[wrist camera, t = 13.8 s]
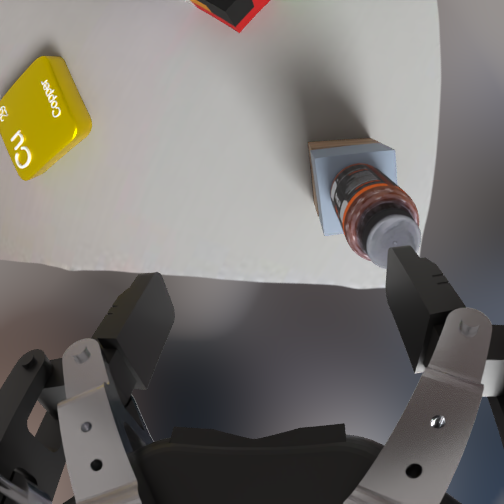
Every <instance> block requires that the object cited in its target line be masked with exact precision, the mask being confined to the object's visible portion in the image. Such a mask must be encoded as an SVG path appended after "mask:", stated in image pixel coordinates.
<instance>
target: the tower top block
mask: <svg viewBox="0 0 504 504" xmlns="http://www.w3.org/2000/svg"><path fill="white" fill-rule="evenodd" d="M310 154H311V161H312V168H313V174H314V181H315V189H316V196H317V204H318V212H319V219H320V222H321V226H322V229H323V233H324V236H329V235H336V234H344V233H343V230H342V227H341V225H340V222H339V219H338V217H337V215H336V213H335V210H334V208H333V205H332V201H331V194H330V193H331V186H332V183H333V181H334V179H335V177H336V175H337V174H338V173H339V172H340V171H341V170H342V169H344V168H345V167H347V166H349V165H353V164H357V163H363V164H368V165H371V166H373V167H375V168H377V169H379V170H380V171H381V172H382V173H384V174H385V175H386V176H387V177H388V178H390V179H391V180H392V181H393V182H394V183H395V184H396V185H397V170H396V156H395V150H394V149H392V148H390V147H388V146H386V145H384V144H382V143H371V144H360V145H350V146H341V147H332V148H324V149H316V150H310Z"/></svg>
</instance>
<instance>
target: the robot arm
mask: <svg viewBox="0 0 504 504" xmlns="http://www.w3.org/2000/svg"><path fill="white" fill-rule="evenodd" d="M386 297H387V302H388V305H389V307H390V310H391V312H392V314H393V317H394V320H395V322H396V325H397V327H398V330H399V332H400V335H401V338H402V340H403V343H404V345H405V348H406V351H407V353H408V356H409V359H410V362H411V365H412V368H413V370H414V373H420V372H423V374H422V376H421V378H420V380H419V383H418V385H417V387H416V389H415V391H414V393H413V395H412V397H411V399H410V401H409V403H408V405H407V407H406V409H405V410H404V412H403V414H402V416H401V418H400V420H399V422H398V423H397V425H396V427H395V429H394V430H393V432H392V434H391V436H390V437H389V439H388V441H387V442H386V444H385V445H382V444H380V443H377V442H375V441H373V440H370V439H367V438H364V437H359V436H354V435H346V434H345V425H344V424H335V425H326V426H316V427H305V428H298V429H294V430H291V431H287V432H284V433H280V434H276V435H272V436H268V437H263V438H259V439H249V438H245V437H241V436H237V435H233V434H228V433H225V432H221V431H217V430H214V429H199V428H185V427H174V428H173V432H172V435H171V438H167V439H162V440H159V441H156V442H154V441H153V440H152V438H151V436H150V434H149V432H148V429H147V427H146V425H145V423H144V420H143V418H142V416H141V413H140V411H139V409H138V406H137V404H136V401H135V399H134V397H133V396H132V391H133V389H147V388H148V385H149V383H150V380H151V377H152V375H153V372H154V370H155V367H156V364H157V362H158V359H159V357H160V355H161V352H162V350H163V347H164V345H165V342H166V340H167V338H168V335H169V333H170V330H171V328H172V325H173V323H174V318H175V314H174V307H173V304H172V302H171V299H170V296H169V294H168V291H167V288H166V285H165V283H164V280H163V278H162V275H161V274H160V273H158V272H155V273H145V274H139V275H138V276H137V277H136V279H135V280H134V282H133V283H132V285H131V286H130V288H128V289H127V290H126V291H124V292H123V293H122V294H121V295H120V296H118V298H117V300H116V301H115V302H114V304H113V307H111V309H110V310H109V311H108V315H106V316H105V317H104V319H103V321H102V322H101V324H100V325H99V327H98V328H97V330H96V331H95V333H94V335H93V336H92V338H87V339H82V340H79V341H77V342H75V343H74V344H72V345H71V346H70V347H69V348H68V349H67V350H66V352H65V353H64V355H63V358H59V359H54V360H49V359H48V358H47V357H46V355H45V354H44V352H43V351H42V350H39V349H36V350H31V351H29V352H27V353H26V354H25V355H23V356H22V357H21V358H20V359H19V360H18V362H17V364H16V365H15V366H14V368H13V370H12V371H11V373H10V374H9V376H8V377H7V379H6V381H5V382H4V384H3V386H2V387H1V389H0V504H52V501H53V497H54V494H55V491H56V488H57V485H58V482H59V479H60V477H61V474H62V471H63V468H64V465H65V462H66V463H67V468H68V472H69V477H70V480H71V485H72V488H73V492H74V496H73V497H72V498H71V499H69V500H68V501H66V502H65V503H63V504H461V503H460V502H458V501H457V500H456V499H454V498H453V497H452V496H450V495H449V494H448V493H446V490H447V488H448V486H449V484H450V482H451V479H452V477H453V475H454V473H455V471H456V468H457V466H458V464H459V461H460V459H461V457H462V454H463V452H464V449H465V446H466V443H467V441H468V438H469V436H470V433H471V430H472V427H473V424H474V421H475V418H476V415H477V412H478V408H479V405H480V402H481V398H482V396H484V397H487V398H488V400H489V403H490V406H491V409H492V412H493V415H494V418H495V421H496V424H497V427H498V430H499V434H500V437H501V440H502V444H503V447H504V325H492V324H491V322H490V320H489V318H488V317H487V316H485V314H484V313H482V312H480V311H478V310H476V309H472V308H466V307H465V305H464V303H463V302H462V300H461V299H460V297H459V296H458V294H457V293H456V292H455V290H454V289H453V287H452V286H451V285H450V283H448V280H447V279H446V277H445V276H443V273H442V272H441V270H440V269H439V268H438V266H437V265H436V264H434V263H433V262H431V261H430V260H428V259H427V258H419V256H418V255H417V253H416V252H415V251H414V249H413V248H412V247H411V246H410V245H406V246H398V247H390V248H389V249H388V255H387V274H386ZM37 400H38V401H39V403H40V404H41V405H42V406H43V407H44V408H45V409H46V410H47V412H46V414H45V416H44V418H43V420H42V422H41V425H40V427H39V429H38V431H37V433H36V435H35V437H34V436H33V435H32V434H31V433H30V432H29V430H28V428H27V419H28V417H29V415H30V413H31V411H32V409H33V407H34V405H35V403H36V401H37Z"/></svg>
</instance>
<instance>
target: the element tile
mask: <svg viewBox="0 0 504 504" xmlns="http://www.w3.org/2000/svg"><path fill="white" fill-rule="evenodd" d="M91 128H92V121H91V118H90V115H89V113H88V111H87V109H86V107H85V105H84V103H83V101H82V99H81V96H80V94H79V92H78V90H77V88H76V86H75V83H74V81H73V79H72V77H71V74H70V72H69V70H68V68H67V65H66V63H65V61H64V59H63V58H61V57H57V56H41V57H39V58H37V59H36V60H35V61H34V62H33V63H32V64H31V65H30V66H29V67H28V68H27V70H26V71H25V72H24V73H23V74H22V75H21V76H20V77H19V79H18V80H17V81H16V82H15V83H14V84H13V86H12V87H11V88H10V89H9V90H8V92H7V93H6V94H5V95H4V97H3V98H2V99H1V100H0V134H1V136H2V139H3V141H4V144H5V146H6V148H7V151H8V153H9V155H10V157H11V160H12V162H13V164H14V166H15V168H16V171H17V173H18V175H19V176H20V178H21V179H22V180H25V181H27V180H30V179H32V178H34V177H36V176H39V175H41V174H43V173H44V172H46V171H47V170H48V169H49V168H50V167H51V166H52V165H53V164H54V163H56V162H57V161H58V160H59V159H60V158H61V157H63V156H64V155H65V154H66V153H67V152H68V151H70V150H71V149H72V148H73V147H74V146H76V145H77V144H78V143H79V142H81V141H82V140H83V139H84V138H86V137H87V136H88V135H89V133H90V131H91Z"/></svg>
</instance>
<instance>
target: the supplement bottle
mask: <svg viewBox="0 0 504 504" xmlns="http://www.w3.org/2000/svg"><path fill="white" fill-rule="evenodd" d="M330 194H331V201H332V205H333V208H334V210H335V213H336V215H337V217H338V219H339V222H340V225H341V227H342V230H343V233H344V235H345V237H346V240H347V242H348V244H349V245H350V247H351V248H352V250H353V251H354V252H355V253H356V254H358V255H359V256H360V257H362V258H364V259H366V260H369V261H372V262H373V263H374V264H376V265H377V266H379V267H381V268H385V269H387V255H388V249H389V248H390V247H398V246H406V245H410V246H411V247H412V248H413V249H414V251H415V252H416V253H417V252H418V249H419V247H420V243H421V232H420V229H419V215H418V211H417V208H416V206H415V204H414V202H413V201H412V199H411V198H410V197H409V196H408V195H407V194H406V193H405V192H404V191H403V190H402V189H401V188H400V187H399V186H398V185H396V184H395V183H394V182H393V181H392V180H391V179H390V178H388V177H387V176H386V175H385V174H384V173H382V172H381V171H380V170H379V169H377V168H375V167H373V166H371V165H368V164H363V163H357V164H353V165H349V166H347V167H345V168H344V169H342V170H341V171H340V172H339V173H338V174H337V175H336V177H335V179H334V181H333V183H332V186H331V193H330Z"/></svg>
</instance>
